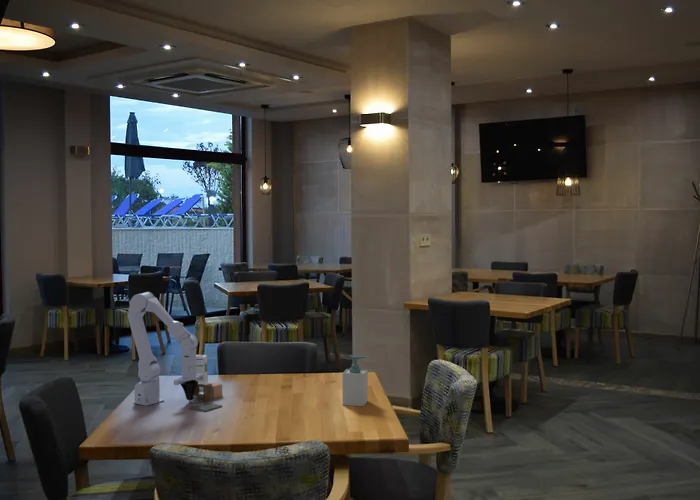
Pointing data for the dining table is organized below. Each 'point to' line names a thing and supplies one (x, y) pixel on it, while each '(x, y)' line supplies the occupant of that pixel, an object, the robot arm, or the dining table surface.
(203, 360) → the syrup box
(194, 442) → the dining table surface
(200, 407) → the coaster
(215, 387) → the block
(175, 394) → the dining table surface
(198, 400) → the silver square bar
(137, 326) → the robot arm
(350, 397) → the soap bottle
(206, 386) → the bracket
